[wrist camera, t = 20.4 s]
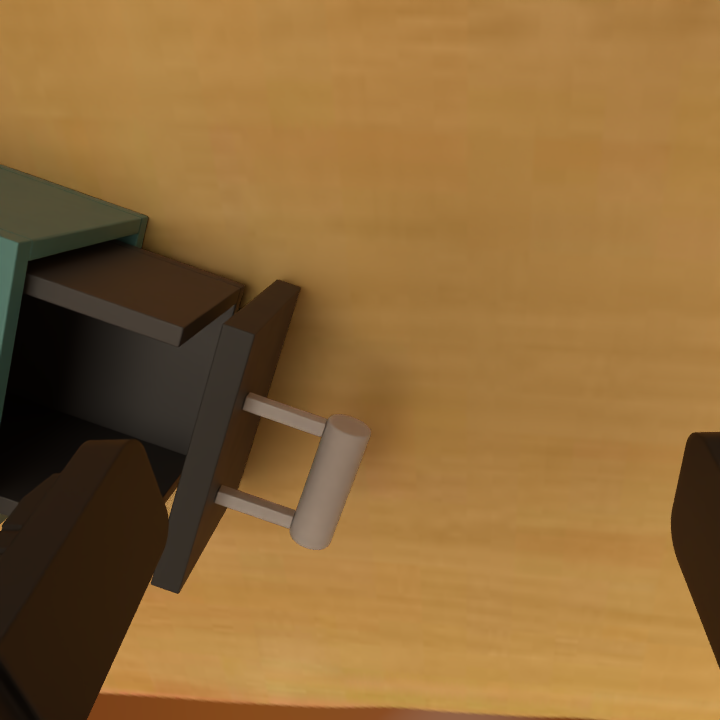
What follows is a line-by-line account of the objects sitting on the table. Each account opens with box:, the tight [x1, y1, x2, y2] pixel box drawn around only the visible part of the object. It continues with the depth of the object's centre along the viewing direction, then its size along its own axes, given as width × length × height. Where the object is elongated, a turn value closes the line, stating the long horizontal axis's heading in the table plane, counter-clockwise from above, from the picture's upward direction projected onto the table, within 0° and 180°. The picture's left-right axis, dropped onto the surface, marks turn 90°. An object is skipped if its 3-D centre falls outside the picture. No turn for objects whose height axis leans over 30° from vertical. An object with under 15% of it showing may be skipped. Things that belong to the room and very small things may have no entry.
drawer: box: [0, 239, 371, 594], centre depth 28 cm, size 19×11×9 cm, turn 71°
